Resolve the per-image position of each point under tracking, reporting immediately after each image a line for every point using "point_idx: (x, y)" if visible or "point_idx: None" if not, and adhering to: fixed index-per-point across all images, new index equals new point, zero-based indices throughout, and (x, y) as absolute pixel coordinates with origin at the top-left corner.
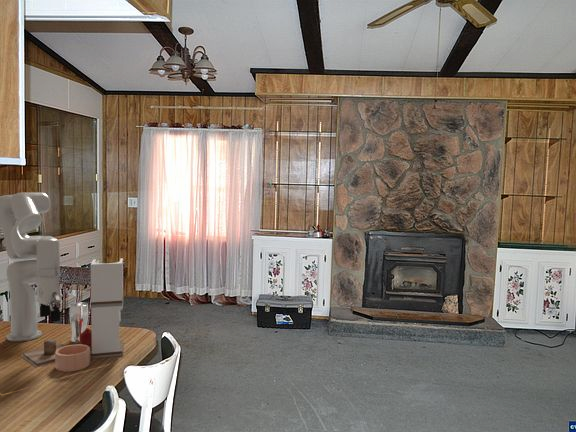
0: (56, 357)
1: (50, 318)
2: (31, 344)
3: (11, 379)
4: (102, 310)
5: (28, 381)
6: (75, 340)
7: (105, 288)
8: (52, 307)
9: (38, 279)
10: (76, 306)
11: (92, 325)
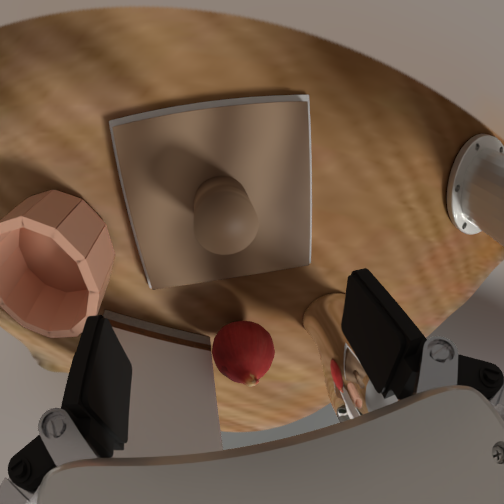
0: (18, 212)
1: (89, 337)
2: (413, 175)
3: (54, 33)
4: None
5: (5, 93)
6: (317, 307)
7: None
8: (50, 451)
9: None
10: None
11: None
